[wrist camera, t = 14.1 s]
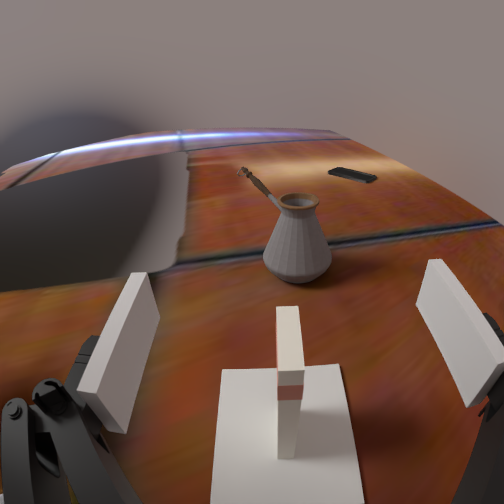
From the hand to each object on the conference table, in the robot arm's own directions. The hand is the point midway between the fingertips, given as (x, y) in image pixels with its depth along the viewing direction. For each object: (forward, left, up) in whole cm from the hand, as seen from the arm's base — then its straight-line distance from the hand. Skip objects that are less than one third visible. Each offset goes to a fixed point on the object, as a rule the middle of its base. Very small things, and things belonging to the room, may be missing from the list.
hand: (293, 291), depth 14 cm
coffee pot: (-32, +20, -22) cm, 44 cm away
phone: (-60, +67, -23) cm, 93 cm away
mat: (-3, +2, -22) cm, 22 cm away
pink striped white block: (-3, +2, -22) cm, 22 cm away
